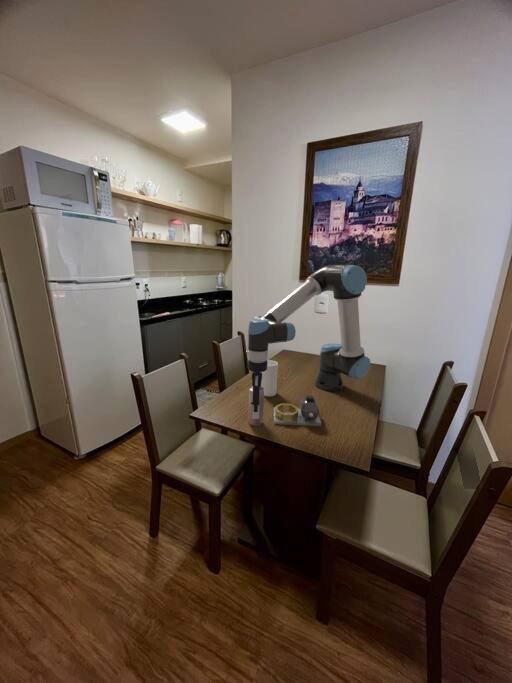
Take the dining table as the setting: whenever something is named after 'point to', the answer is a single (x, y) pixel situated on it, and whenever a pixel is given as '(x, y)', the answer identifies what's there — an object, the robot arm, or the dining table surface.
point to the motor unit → (298, 413)
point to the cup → (270, 378)
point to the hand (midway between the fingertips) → (255, 413)
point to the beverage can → (261, 406)
